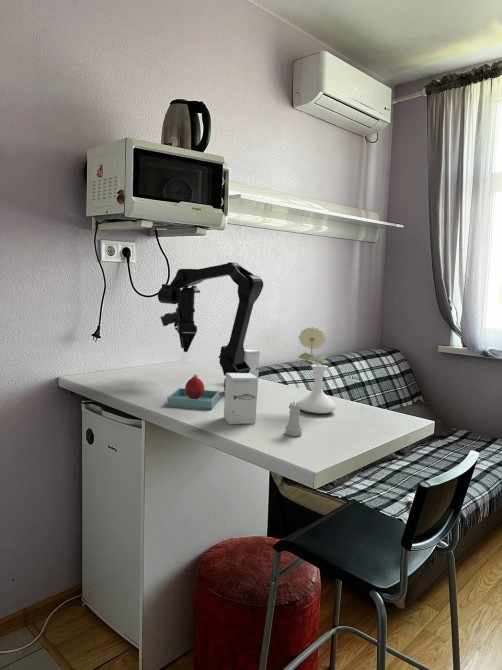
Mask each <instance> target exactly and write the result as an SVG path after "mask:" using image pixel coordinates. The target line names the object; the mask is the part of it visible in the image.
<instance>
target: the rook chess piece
mask: <svg viewBox="0 0 502 670" xmlns="http://www.w3.org/2000/svg"><path fill="white" fill-rule="evenodd" d="M298 402H299V401H298ZM298 402H295V401H291V402H290V404H289V406H288V408H289V418H288V422H287V425H286V426H285V428H284V429H285V430H284V434H286V436H287V437H296V438H297V437H301V436H302V434H303V432H302V431H303V428H302V426H301V425H302V424H301V422H300V414H301V412H300V410H302V409H301V408H302V407H301V406H300V403H299V404H298Z"/></svg>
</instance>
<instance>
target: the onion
mask: <svg viewBox="0 0 502 670" xmlns="http://www.w3.org/2000/svg"><path fill="white" fill-rule="evenodd" d="M184 389H185V392H186V395H187V396H188V397H189V398H190V399H198V398H199V397H201V396H202V395H203V393H204V390H205V385H204V382H203V381H202V379H200V378H199V377H198V375H197V374H194V375H193V376H192V377H191V378H190V379H189V380H187V382H186V384H185V387H184Z"/></svg>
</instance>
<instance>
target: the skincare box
mask: <svg viewBox="0 0 502 670" xmlns="http://www.w3.org/2000/svg"><path fill="white" fill-rule="evenodd" d="M244 351H245V357H244V360H245V362H246V363H247V364H248V366H249V367H250V371H249V373H252V374H253V375H254V376H256V377H257V378H258V379H259V373H260V372H259V371H260V370H259V369H260V350H259V349H258V350H257V349H244Z"/></svg>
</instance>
